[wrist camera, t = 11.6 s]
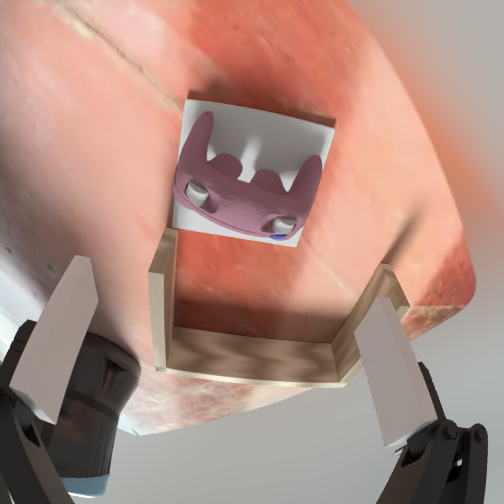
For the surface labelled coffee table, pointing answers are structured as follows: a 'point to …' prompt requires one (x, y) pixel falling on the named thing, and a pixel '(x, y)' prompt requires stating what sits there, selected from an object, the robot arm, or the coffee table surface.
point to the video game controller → (242, 189)
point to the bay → (253, 348)
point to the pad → (253, 152)
